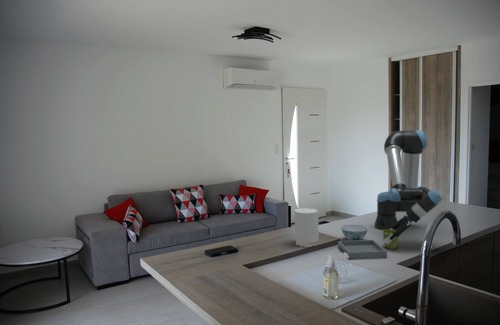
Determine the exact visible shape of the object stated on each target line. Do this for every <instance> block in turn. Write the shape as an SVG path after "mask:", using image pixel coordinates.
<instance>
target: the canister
mask: <svg viewBox="0 0 500 325" xmlns="http://www.w3.org/2000/svg"><path fill="white" fill-rule="evenodd" d="M294 239H295V240H296V241H298V242H307V243H308V242H316V241H318V240H319V210H318V208H317V209H316V208H314V207H299V208H296V209H294ZM295 240H294V241H295Z"/></svg>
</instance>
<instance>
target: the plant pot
mask: <svg viewBox="0 0 500 325" xmlns="http://www.w3.org/2000/svg"><path fill="white" fill-rule="evenodd" d="M395 231H396V230H381V233H382V236H383V235H384V236H383V239H384V240H385V239H386V238H387V237H389V236H390V235H391V234H392V232H395ZM384 240H383V241H384ZM398 241H399V237H396V238H395V239H393V240H392V241H391V242H390V243H389V244H388V245H387V244H386V243H385V242H384V246H385V248H388V249H393V250H394V249H397V247H398Z"/></svg>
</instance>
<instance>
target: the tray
mask: <svg viewBox="0 0 500 325" xmlns="http://www.w3.org/2000/svg"><path fill="white" fill-rule="evenodd" d="M337 244H338V249H339V250H340V249H341V250H342V251H341V250H340V251H341V252H342V253H343V252H345V253H347V254H348V256H349V260H364V259H365V260H366V259H368V260H369V259H387V258H388V251H387V249H385V248H384V247H383V246H382V245H380V244H379V243H378V242H376V240H374V239H361V240H354V241H349V240H338V243H337Z"/></svg>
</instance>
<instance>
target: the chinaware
mask: <svg viewBox="0 0 500 325" xmlns="http://www.w3.org/2000/svg"><path fill="white" fill-rule="evenodd" d="M368 229H369V228H368V227H367V226H364V225H361V224H345V225H342V226H341V232H342V234H343V236H344V237H345V238H346V239H347V240H348V241H354V240H363V239H364V237H365V236H366V235H367V233H368V231H369V230H368Z"/></svg>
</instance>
